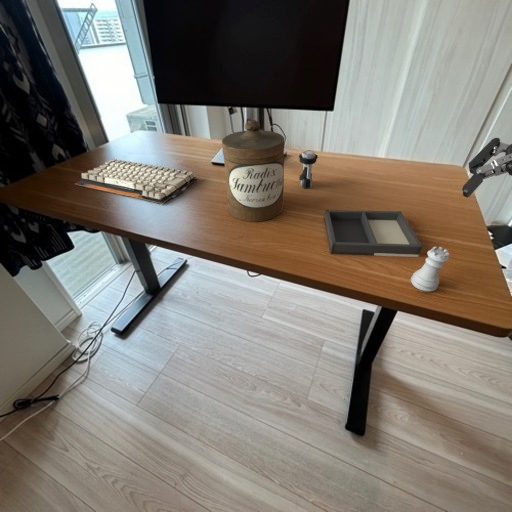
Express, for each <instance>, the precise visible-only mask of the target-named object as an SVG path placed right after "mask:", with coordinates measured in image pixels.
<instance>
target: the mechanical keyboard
mask: <svg viewBox="0 0 512 512" xmlns="http://www.w3.org/2000/svg"><path fill="white" fill-rule="evenodd" d="M81 179H82V180H80V181H78V182H75V183H74V184H73V185H74V186H78V187H82V188H87V189H91V190H97V191H101V192H106V193H111V194H114V195H120V196H126V197H130V198H136V199H139V200H144V201H147V202H153V203H157V204H160V205H163V204H165V203H166V202H168V200H171V198H172V199H174V198H176V197H177V196H179V195H181V194H182V193H184V192H185V191H186V189H187V187H188V186H190V185H192V184H193V183H194V182H196V181H197V176H195V174H194V171H187V170H181V169H176V168H169V167H164V166H158V165H153V164H147V163H141V162H136V161H133V162H132V161H129V160H128V161H127V160H122V159H117V158H111V159H110V160H107V161H105V162H104V164H103V163H102V164H101V165H99V167H97V166H96V167H94V168H93V169H89V170H87V172H81Z"/></svg>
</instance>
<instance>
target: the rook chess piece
mask: <svg viewBox="0 0 512 512" xmlns="http://www.w3.org/2000/svg"><path fill="white" fill-rule="evenodd" d="M443 248H444V247H442V246H439V247H438V246H433V247H432V248H431V249H429V250H428V251H427V253H426V254H427V257H426V258H425V263H424V264H423V265H422V267H421V268H419V269H417V270H416V271H414V273H412V276H411V277H410V282H411V284H412V286H413V287H414V288H415V289H417V290H419V291H421V292H426V293H428V292H429V293H430V292H433V291H434V292H435V291H436V290H437V289H438V286H439V284H440V279H439V273H440V270H441V269H442V268H443V267H444V263H445V262H448V261H449V260H450V256H449V254H450V252H448V251H449V250H448V249H446V248H444V249H443Z"/></svg>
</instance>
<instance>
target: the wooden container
mask: <svg viewBox="0 0 512 512" xmlns="http://www.w3.org/2000/svg"><path fill="white" fill-rule="evenodd" d="M260 128H261V125H260V122H259V121H257V120H256V119H249V120H247V122H245V124H244V129H245V130H241V131H235V132H233V133H230V134H228V135H225V137H223V138H222V140H221V148H222V154H223V155H222V156H223V163H224V173H225V174H224V175H225V188H226V197H227V206H228V211H229V214H231V215H232V216H233V217H234V218H236V219H238V220H241V221H245V222H264V221H268V220H271V219H273V218H275V217H277V216H279V214H281V212H282V211H283V205H284V189H285V188H284V187H285V186H284V185H285V183H284V182H285V173H284V172H285V137H284V136H283V135H282V134H281V133H279V132H275V131H271V130H265V129H264V130H262V129H260Z"/></svg>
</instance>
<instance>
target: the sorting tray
mask: <svg viewBox="0 0 512 512" xmlns="http://www.w3.org/2000/svg"><path fill="white" fill-rule="evenodd" d="M323 220H324V227H325V231H326V236H327V243H328V247H329V253H330V255H349V256H351V255H352V256H379V257H380V256H381V257H404V258H405V257H409V258H419V257H420V254H421V252H422V250H423V248H424V246H423V244H422V243H421V241H420V240H419V238H418V236H417V235H416V233H415V232H414V230H413V228H412V227H411V225H410V223H409V222H408V220H407V219H406V216H405V215H404V214H403V212H402V210H400V211H396V210H392V211H391V210H353V209H350V210H348V209H346V210H345V209H325V211H324V217H323Z"/></svg>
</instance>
